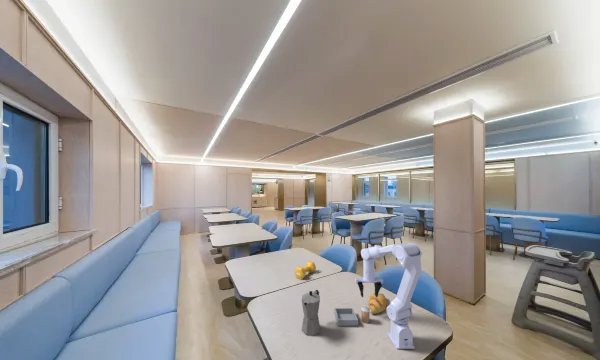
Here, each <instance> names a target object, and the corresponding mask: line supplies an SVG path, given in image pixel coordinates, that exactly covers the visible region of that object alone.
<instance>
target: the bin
mask: <svg viewBox="0 0 600 360" xmlns="http://www.w3.org/2000/svg"><path fill="white" fill-rule="evenodd" d="M333 311H334V312H333V314H334V317H335V322H336V323H337V326H338V327H359V319H358V317H357V314H356V312H355V309H354V308H353V307H334V308H333Z"/></svg>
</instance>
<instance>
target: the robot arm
mask: <svg viewBox="0 0 600 360" xmlns="http://www.w3.org/2000/svg"><path fill="white" fill-rule="evenodd" d="M391 253H392V255H393V256H395V258H396V259H397V261H398V262H399V263H400V265H401V266H402V268H404V272H403V276H402V278H401V280H400V281H401V282H400V284H399V288H398V290H397V293H396V296H395V298H394V299H393V300H392V301H390V303H389V304H388V305H386V315H387V317H388V318H389V320H390V331H387V332H386V333H387V335H388V337H389V339H390V341H391V342H392V343H393V345H394V347H395V349H397V350H403V349H404V350H406V349H407V350H409V349H411V350H412V349H414V350H415V348H416V346H415V345H414V341H413V340H414V339H413V338H414V337H413V336H414V335H413V332H412V330H411V328H410V326H409V321H410V317H412V315H413V310H412V309H413V304H412V303H411V300H412V297H413V294H414V292H415V289H416V286H417V284H418V282H419V279H420V276H421V272H422V263H421V261H422V260H421V258H422V257H423V256H422V255H423V253H422V251H421V249H420V247H419V245H418V244H416V243H414V242H410V243H407V242H406V243H395V244H390V245H386V246H382V245H379V244H374V246H368V248H367V247H366V248H362V249H361V250H360V255H361V258H362V259H363V260H362V261H363V262H362V265H363V269H362V273H363V274H362V275H363V276H361V277H355V278H354V282H355V283H356V284H357V286H358V288H359V292H360V296H361V298H364V287H365V286H364V284H366V283H367V284H374V294H375V296H376V297H378V294H380V290H381V289H382V287H383V284H384V279H383V278H382V277H375V262H376V259H378V258H384V257H385V255H386V254H391Z"/></svg>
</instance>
